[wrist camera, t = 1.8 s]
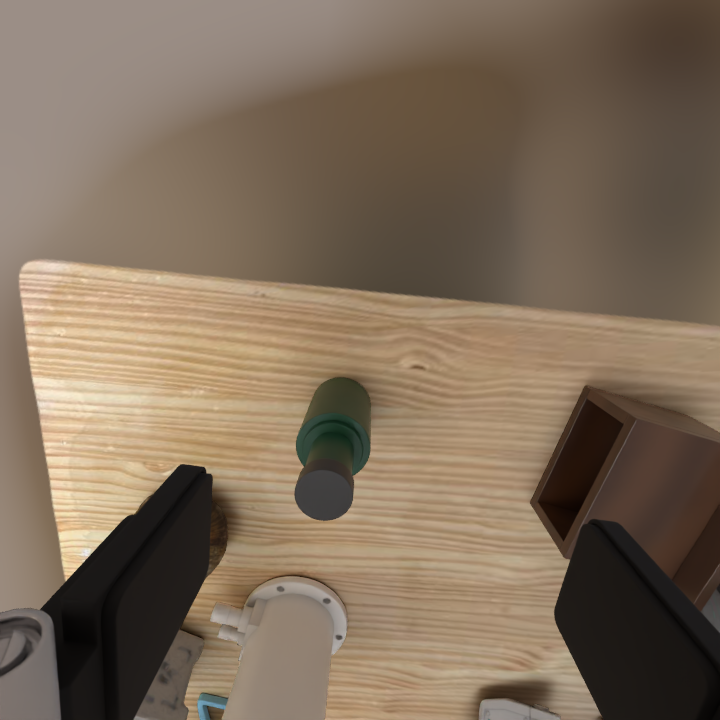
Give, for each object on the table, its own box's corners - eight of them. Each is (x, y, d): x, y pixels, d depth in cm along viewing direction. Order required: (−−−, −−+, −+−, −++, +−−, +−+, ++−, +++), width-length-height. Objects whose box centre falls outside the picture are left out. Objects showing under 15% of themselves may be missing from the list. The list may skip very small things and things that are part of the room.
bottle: (305, 423, 41) (268, 521, 27) (320, 370, 40) (289, 443, 25) (361, 438, 42) (355, 544, 27) (378, 386, 40) (381, 468, 25)
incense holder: (176, 687, 52) (129, 792, 42) (121, 654, 51) (59, 754, 41) (218, 643, 50) (179, 743, 40) (161, 608, 49) (107, 702, 39)
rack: (529, 503, 43) (577, 580, 33) (585, 385, 39) (658, 432, 29) (624, 529, 44) (700, 613, 34) (687, 415, 40) (794, 471, 30)
